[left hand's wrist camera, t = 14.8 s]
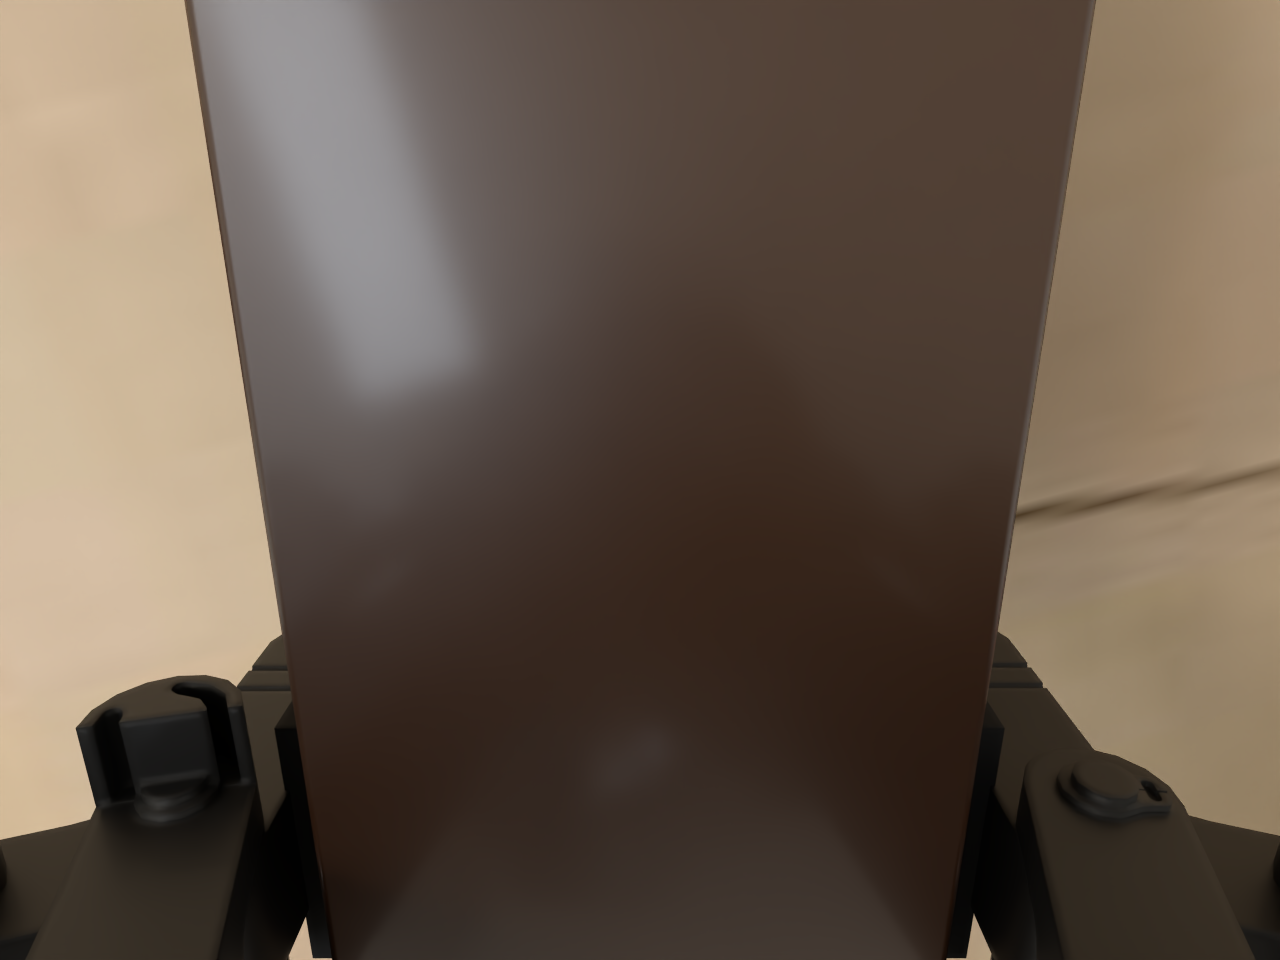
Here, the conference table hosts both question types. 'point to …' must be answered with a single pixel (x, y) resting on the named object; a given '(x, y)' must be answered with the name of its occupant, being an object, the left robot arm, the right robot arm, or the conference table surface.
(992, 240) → the plank
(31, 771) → the conference table surface
